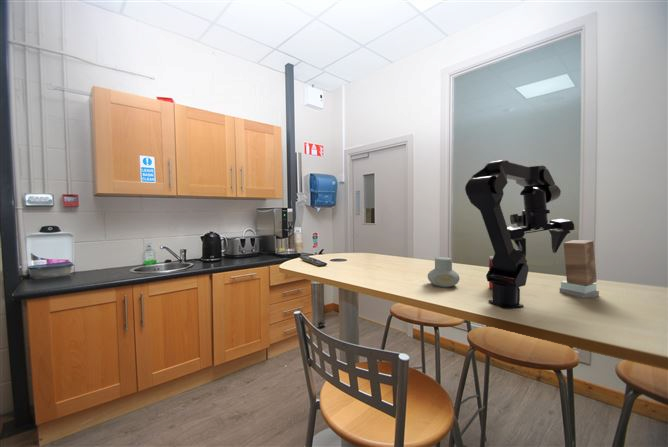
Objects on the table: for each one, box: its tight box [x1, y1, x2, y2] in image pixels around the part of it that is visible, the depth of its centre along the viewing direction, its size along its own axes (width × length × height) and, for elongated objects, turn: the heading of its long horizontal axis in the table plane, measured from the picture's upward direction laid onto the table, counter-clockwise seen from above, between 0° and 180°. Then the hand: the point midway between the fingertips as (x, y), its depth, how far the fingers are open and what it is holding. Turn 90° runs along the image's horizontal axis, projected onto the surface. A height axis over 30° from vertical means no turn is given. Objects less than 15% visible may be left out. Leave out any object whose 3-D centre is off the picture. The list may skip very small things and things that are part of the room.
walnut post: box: [563, 239, 598, 285], centre depth 92 cm, size 6×6×13 cm
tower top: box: [560, 279, 597, 293], centre depth 93 cm, size 7×7×2 cm
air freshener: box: [427, 256, 460, 288], centre depth 106 cm, size 11×8×10 cm
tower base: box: [559, 287, 600, 299], centre depth 93 cm, size 7×7×2 cm
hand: (539, 254), depth 93 cm, fingers open, 9 cm apart
